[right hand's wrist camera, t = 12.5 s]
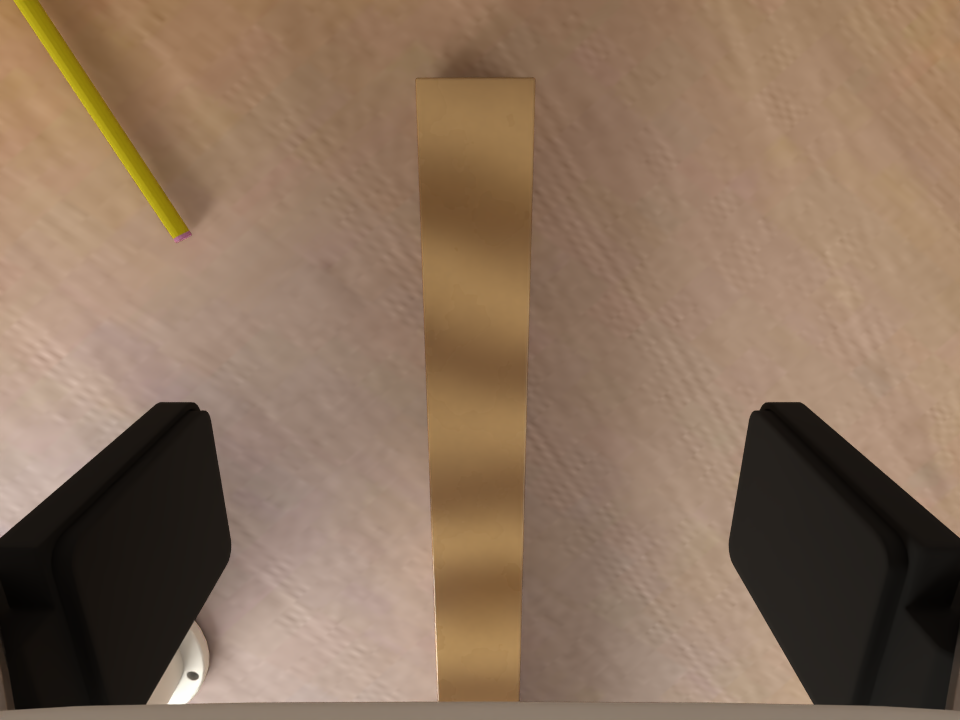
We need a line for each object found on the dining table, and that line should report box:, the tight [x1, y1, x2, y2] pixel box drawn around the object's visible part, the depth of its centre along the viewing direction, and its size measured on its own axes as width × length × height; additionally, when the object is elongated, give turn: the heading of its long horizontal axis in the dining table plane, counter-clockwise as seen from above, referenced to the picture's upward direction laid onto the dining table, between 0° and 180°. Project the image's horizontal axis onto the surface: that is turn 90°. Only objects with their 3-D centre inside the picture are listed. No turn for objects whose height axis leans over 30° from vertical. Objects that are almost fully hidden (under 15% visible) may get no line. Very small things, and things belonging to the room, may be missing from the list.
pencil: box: [14, 0, 192, 243], centre depth 33 cm, size 16×1×1 cm, turn 27°
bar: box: [415, 77, 535, 702], centre depth 42 cm, size 71×5×7 cm, turn 0°
